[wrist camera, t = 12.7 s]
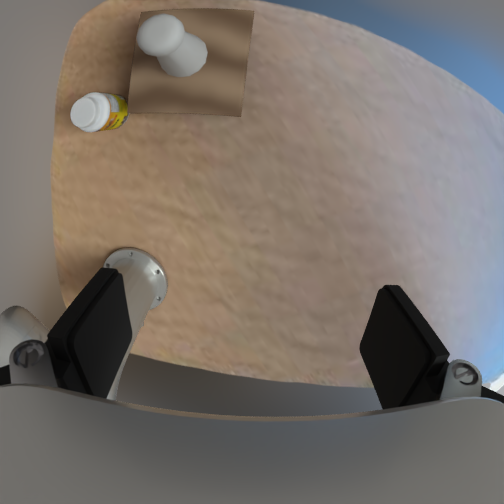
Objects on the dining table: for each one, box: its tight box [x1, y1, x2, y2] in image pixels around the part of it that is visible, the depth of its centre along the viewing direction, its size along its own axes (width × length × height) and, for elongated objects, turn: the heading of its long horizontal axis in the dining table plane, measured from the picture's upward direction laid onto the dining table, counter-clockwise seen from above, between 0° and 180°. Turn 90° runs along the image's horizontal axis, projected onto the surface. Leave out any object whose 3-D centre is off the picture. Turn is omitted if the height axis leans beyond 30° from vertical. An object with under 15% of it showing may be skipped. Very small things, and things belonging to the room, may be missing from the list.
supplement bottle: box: [70, 92, 129, 132], centre depth 34 cm, size 6×6×10 cm
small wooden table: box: [127, 9, 254, 117], centre depth 33 cm, size 15×15×6 cm
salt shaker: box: [136, 14, 208, 77], centre depth 24 cm, size 6×6×13 cm
